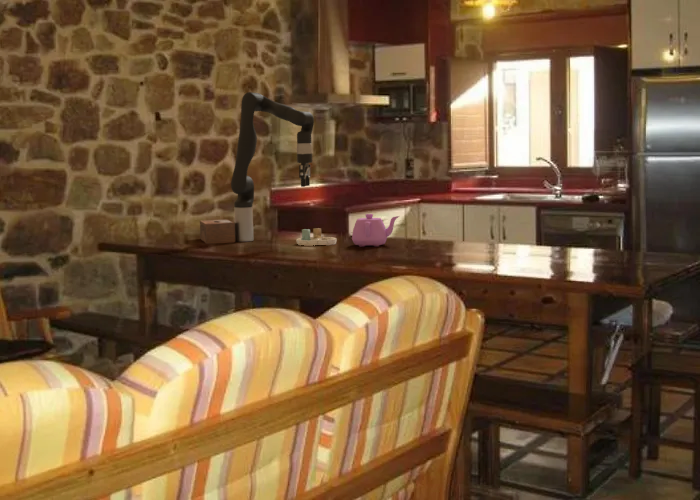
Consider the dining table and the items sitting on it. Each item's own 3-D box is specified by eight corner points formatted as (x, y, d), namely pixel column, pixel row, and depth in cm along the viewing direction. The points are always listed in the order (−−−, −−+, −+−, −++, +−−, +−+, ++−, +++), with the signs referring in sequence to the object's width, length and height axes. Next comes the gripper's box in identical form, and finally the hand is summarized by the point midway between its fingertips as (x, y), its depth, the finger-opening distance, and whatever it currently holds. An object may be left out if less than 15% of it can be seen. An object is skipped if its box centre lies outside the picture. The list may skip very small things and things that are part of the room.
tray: (293, 245, 451) (292, 240, 451) (302, 241, 470) (302, 236, 470) (331, 245, 448) (331, 240, 447) (339, 241, 466) (339, 236, 466)
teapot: (349, 248, 436) (349, 216, 435) (354, 243, 457) (353, 212, 455) (398, 248, 434) (398, 215, 432) (400, 243, 455) (400, 212, 453)
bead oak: (314, 240, 466) (314, 228, 466) (322, 240, 465) (321, 228, 465) (312, 241, 462) (312, 229, 462) (320, 241, 462) (320, 229, 461)
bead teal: (309, 242, 457) (308, 229, 457) (301, 242, 458) (300, 229, 457) (311, 241, 461) (310, 229, 460) (303, 241, 462) (303, 229, 461)
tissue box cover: (235, 242, 474) (234, 223, 473) (206, 244, 471) (205, 224, 469) (227, 238, 499) (227, 219, 498) (200, 239, 495) (199, 220, 494)
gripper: (300, 152, 463) (301, 185, 465) (293, 153, 450) (294, 187, 451) (315, 152, 462) (316, 185, 464) (308, 153, 448) (309, 187, 450)
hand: (305, 186), depth 458 cm, fingers open, 8 cm apart
